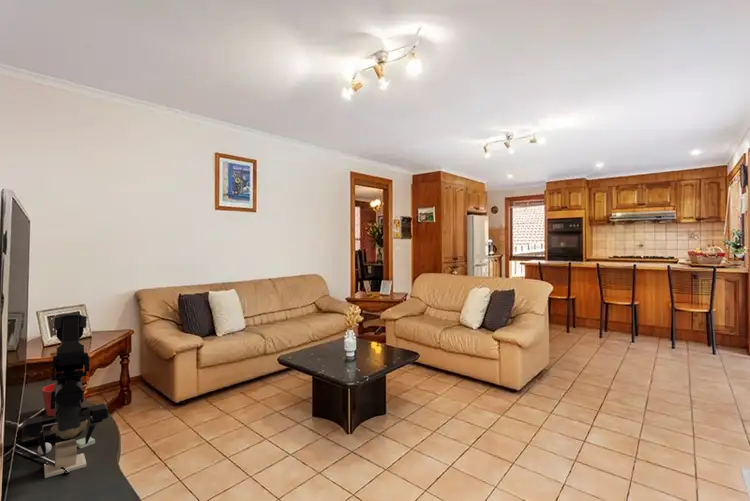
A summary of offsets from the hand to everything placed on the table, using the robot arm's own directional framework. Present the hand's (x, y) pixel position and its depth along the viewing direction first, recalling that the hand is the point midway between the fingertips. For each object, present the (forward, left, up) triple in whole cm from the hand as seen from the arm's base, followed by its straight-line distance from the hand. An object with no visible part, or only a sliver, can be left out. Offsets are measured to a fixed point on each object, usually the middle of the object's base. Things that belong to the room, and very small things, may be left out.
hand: (66, 448), depth 108 cm
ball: (-12, -4, -4) cm, 13 cm away
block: (0, 0, -4) cm, 4 cm away
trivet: (0, 0, -5) cm, 5 cm away
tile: (-12, +6, -6) cm, 14 cm away
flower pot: (-44, +1, -6) cm, 44 cm away
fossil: (-20, +2, -6) cm, 20 cm away
